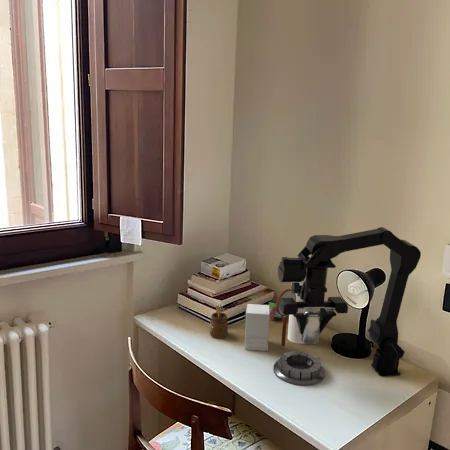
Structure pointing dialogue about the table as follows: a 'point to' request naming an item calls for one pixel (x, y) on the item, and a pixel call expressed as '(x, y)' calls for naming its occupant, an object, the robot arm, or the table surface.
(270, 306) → the geometric puzzle
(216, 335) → the utensil holder
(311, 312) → the cylinder
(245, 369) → the table surface
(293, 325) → the cylindrical container
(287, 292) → the magnifying glass
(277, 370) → the ring collar
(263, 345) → the supplement box
